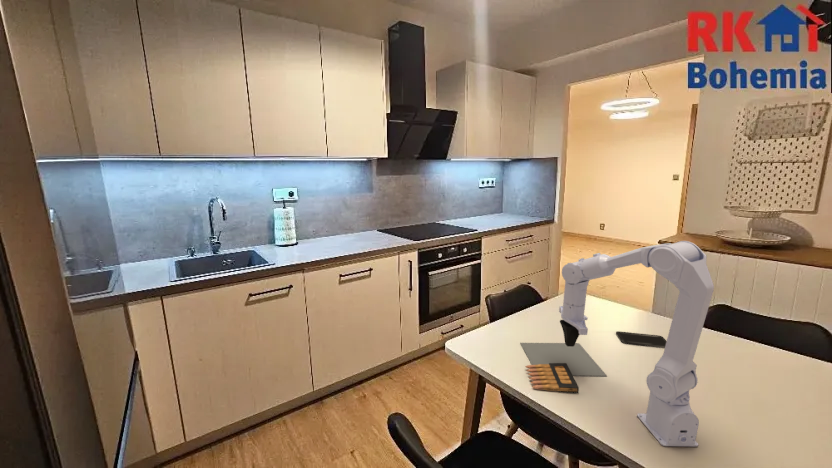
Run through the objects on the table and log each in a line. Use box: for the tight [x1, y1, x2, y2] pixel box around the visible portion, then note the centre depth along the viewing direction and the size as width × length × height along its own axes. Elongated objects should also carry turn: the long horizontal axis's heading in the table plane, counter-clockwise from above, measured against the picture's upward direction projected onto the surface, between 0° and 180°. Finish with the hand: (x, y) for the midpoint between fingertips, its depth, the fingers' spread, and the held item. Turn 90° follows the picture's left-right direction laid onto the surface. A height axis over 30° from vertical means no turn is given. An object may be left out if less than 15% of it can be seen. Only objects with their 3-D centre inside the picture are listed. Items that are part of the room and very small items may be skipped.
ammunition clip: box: [525, 363, 580, 394], centre depth 98 cm, size 11×2×12 cm
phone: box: [615, 330, 667, 349], centre depth 119 cm, size 8×1×15 cm
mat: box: [520, 342, 608, 377], centre depth 109 cm, size 18×20×1 cm
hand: (569, 345), depth 102 cm, fingers closed
